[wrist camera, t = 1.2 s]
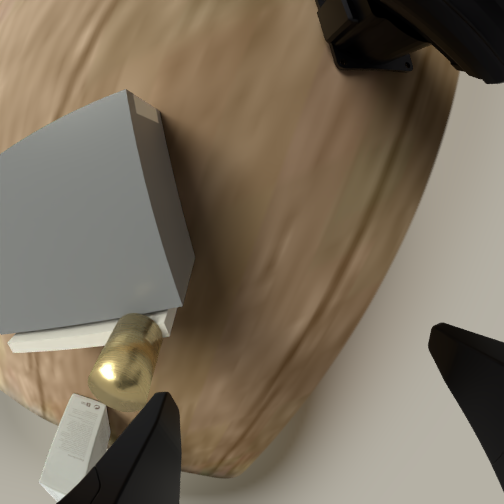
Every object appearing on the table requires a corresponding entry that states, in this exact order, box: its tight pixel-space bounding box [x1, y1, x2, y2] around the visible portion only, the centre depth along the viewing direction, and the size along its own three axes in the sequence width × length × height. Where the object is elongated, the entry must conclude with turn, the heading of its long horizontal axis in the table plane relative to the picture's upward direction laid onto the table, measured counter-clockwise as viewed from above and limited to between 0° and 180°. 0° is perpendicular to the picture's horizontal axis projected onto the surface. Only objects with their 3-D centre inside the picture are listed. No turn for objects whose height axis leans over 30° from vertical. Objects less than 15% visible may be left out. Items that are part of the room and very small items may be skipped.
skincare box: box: [39, 393, 111, 502], centre depth 18 cm, size 6×4×12 cm
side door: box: [8, 307, 177, 412], centre depth 14 cm, size 12×2×11 cm, turn 101°
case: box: [0, 89, 195, 335], centre depth 14 cm, size 14×10×6 cm
